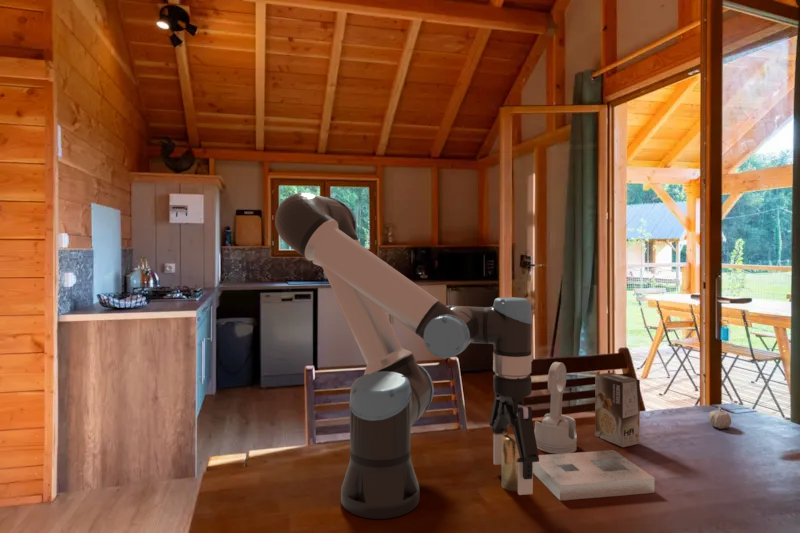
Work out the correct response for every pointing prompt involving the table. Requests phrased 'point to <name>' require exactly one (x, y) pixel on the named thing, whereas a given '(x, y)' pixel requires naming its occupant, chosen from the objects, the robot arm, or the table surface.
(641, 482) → the white peg hole board
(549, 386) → the engine component
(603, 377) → the coffee box
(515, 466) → the cylinder
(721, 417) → the garlic
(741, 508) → the table surface
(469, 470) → the table surface
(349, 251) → the robot arm
